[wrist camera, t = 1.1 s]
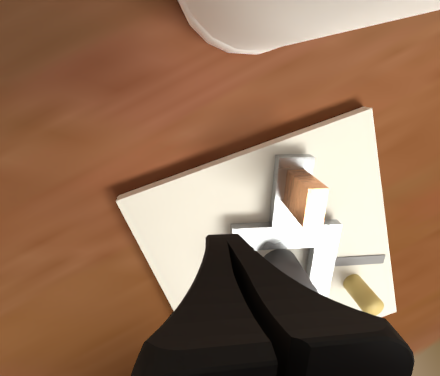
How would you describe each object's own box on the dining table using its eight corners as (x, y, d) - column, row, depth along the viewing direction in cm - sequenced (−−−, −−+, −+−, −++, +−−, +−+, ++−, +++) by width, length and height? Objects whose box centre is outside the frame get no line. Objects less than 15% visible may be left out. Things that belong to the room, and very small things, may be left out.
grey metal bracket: (320, 304, 25) (346, 347, 21) (226, 311, 24) (236, 358, 20) (349, 153, 20) (389, 173, 16) (233, 154, 19) (247, 175, 15)
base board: (389, 303, 28) (431, 349, 23) (208, 369, 28) (215, 428, 23) (363, 106, 21) (417, 116, 16) (118, 195, 21) (101, 231, 16)
